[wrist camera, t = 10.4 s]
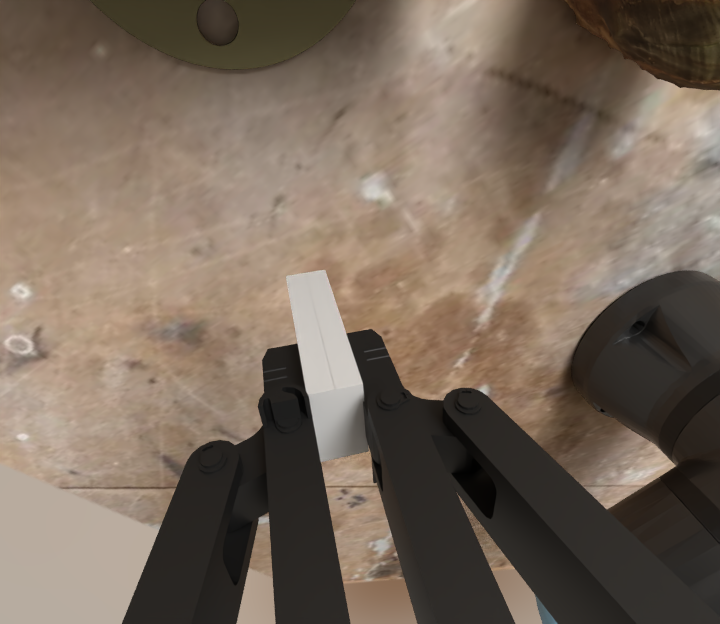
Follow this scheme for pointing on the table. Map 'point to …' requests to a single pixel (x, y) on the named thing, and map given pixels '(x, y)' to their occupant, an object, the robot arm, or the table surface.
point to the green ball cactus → (660, 36)
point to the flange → (255, 33)
